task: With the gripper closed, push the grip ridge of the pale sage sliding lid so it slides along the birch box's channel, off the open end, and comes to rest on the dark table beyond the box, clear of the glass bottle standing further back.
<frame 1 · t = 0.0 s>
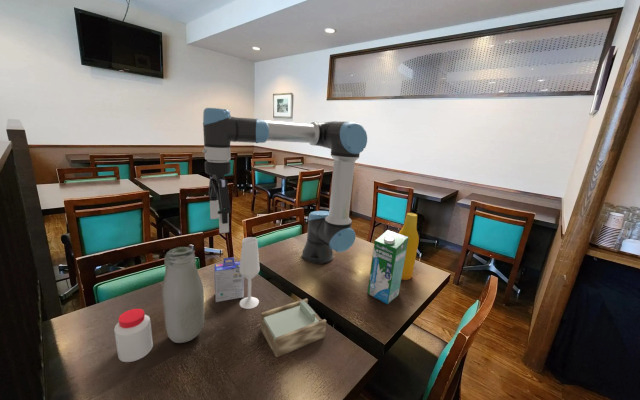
hand: (219, 225, 88), 28 cm above the table, tool pointing down, fingers open, 13 cm apart
box: (292, 333, 82), on the table
milk carton: (382, 294, 105), on the table
lid: (291, 322, 80), point 4 cm above the table, touching box
champagne flute: (249, 303, 94), on the table
glass bottle: (186, 337, 77), on the table
ink cartridge box: (229, 296, 97), on the table
pill bottle: (136, 350, 71), on the table
beer bottle: (401, 275, 121), on the table
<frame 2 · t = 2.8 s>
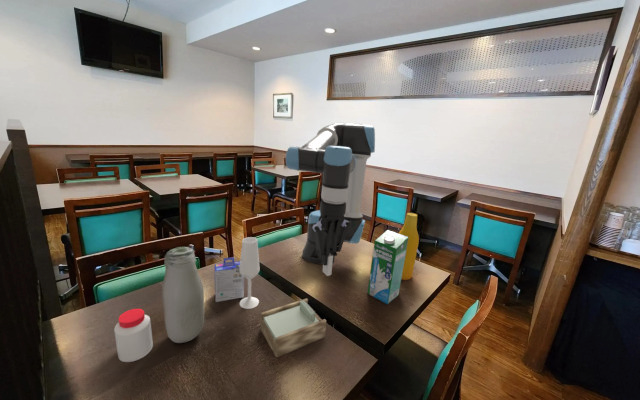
hand: (326, 273, 83), 18 cm above the table, tool pointing down, fingers closed
nothing on the table moved.
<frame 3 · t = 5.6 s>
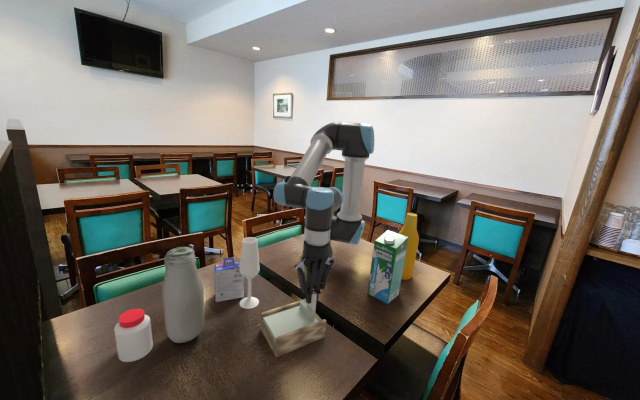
hand: (311, 310, 83), 6 cm above the table, tool pointing down, fingers closed
lid: (291, 323, 80), point 4 cm above the table, touching box, gripper
everything else where it was.
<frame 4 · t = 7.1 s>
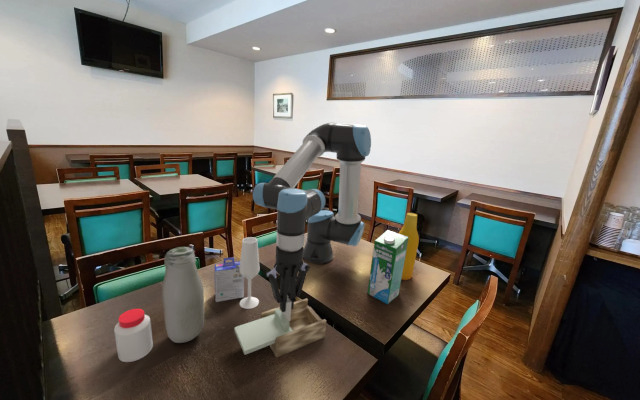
hand: (286, 318, 78), 6 cm above the table, tool pointing down, fingers closed
lid: (263, 333, 75), point 4 cm above the table, touching box, gripper
everything else where it was.
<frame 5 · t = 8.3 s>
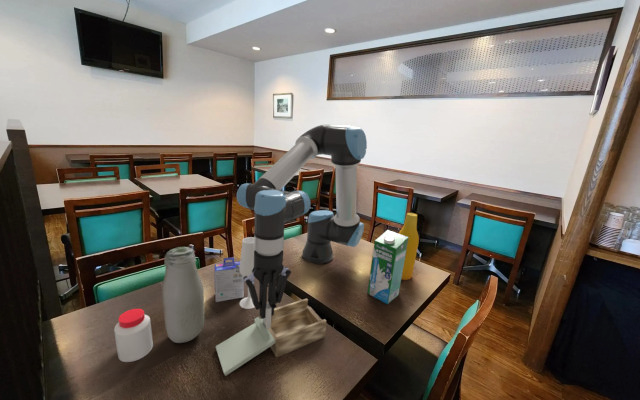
hand: (266, 325, 75), 6 cm above the table, tool pointing down, fingers closed
lid: (246, 346, 73), point 2 cm above the table, tilted 17°, touching box, gripper
everything else where it was.
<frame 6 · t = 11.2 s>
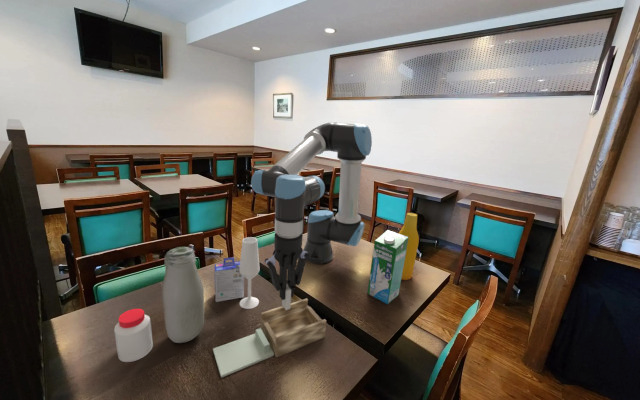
hand: (286, 306, 78), 10 cm above the table, tool pointing down, fingers closed
lid: (243, 354, 73), on the table
everything else where it was.
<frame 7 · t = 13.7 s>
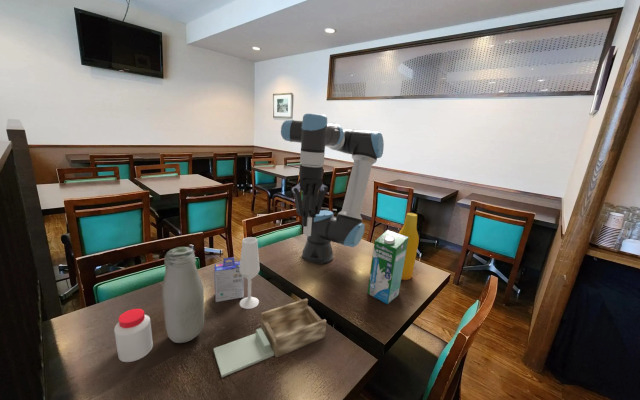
hand: (306, 234, 90), 26 cm above the table, tool pointing down, fingers closed
nothing on the table moved.
at the end: lid on the table; lid inside the target area (6.4 cm from its centre), on the table; lid touching table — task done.
